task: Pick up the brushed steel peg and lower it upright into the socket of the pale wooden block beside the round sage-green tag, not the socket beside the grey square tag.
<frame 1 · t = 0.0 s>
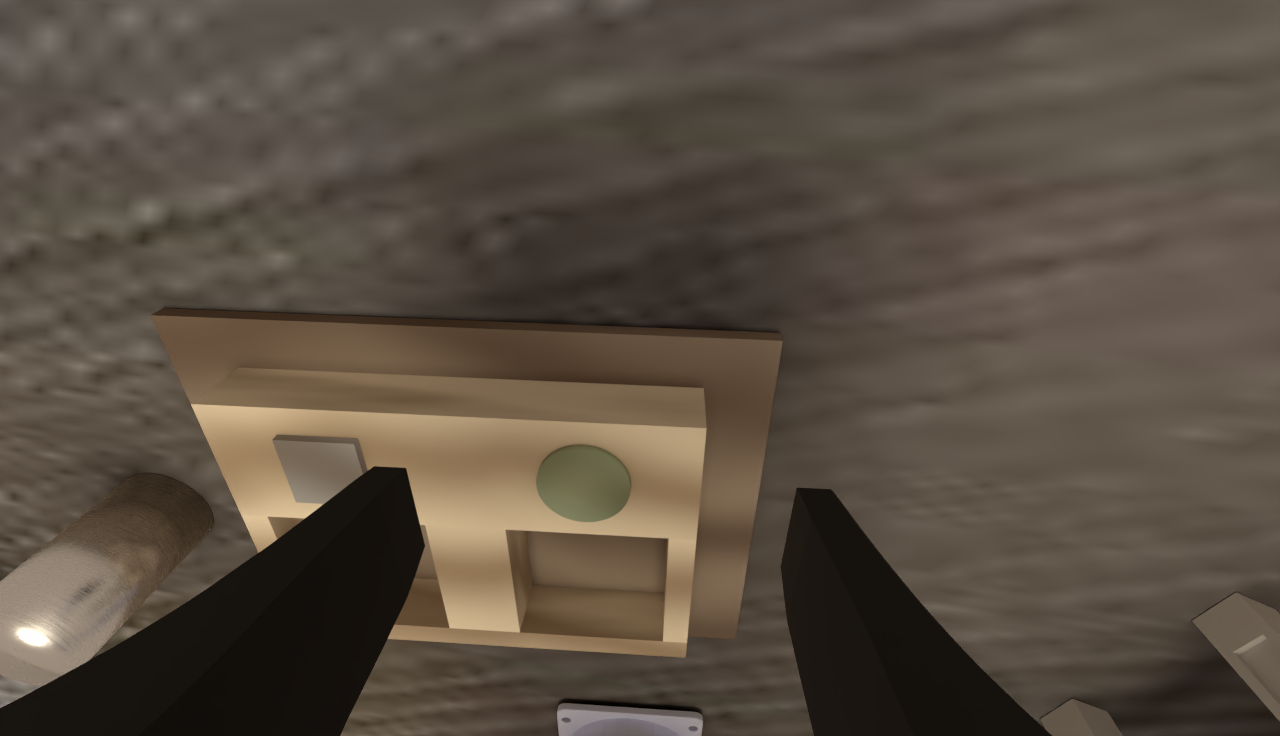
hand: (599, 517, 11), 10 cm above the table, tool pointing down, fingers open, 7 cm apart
socket block: (496, 525, 25), on the table
peg: (168, 507, 26), on the table
stool: (1213, 692, 29), on the table
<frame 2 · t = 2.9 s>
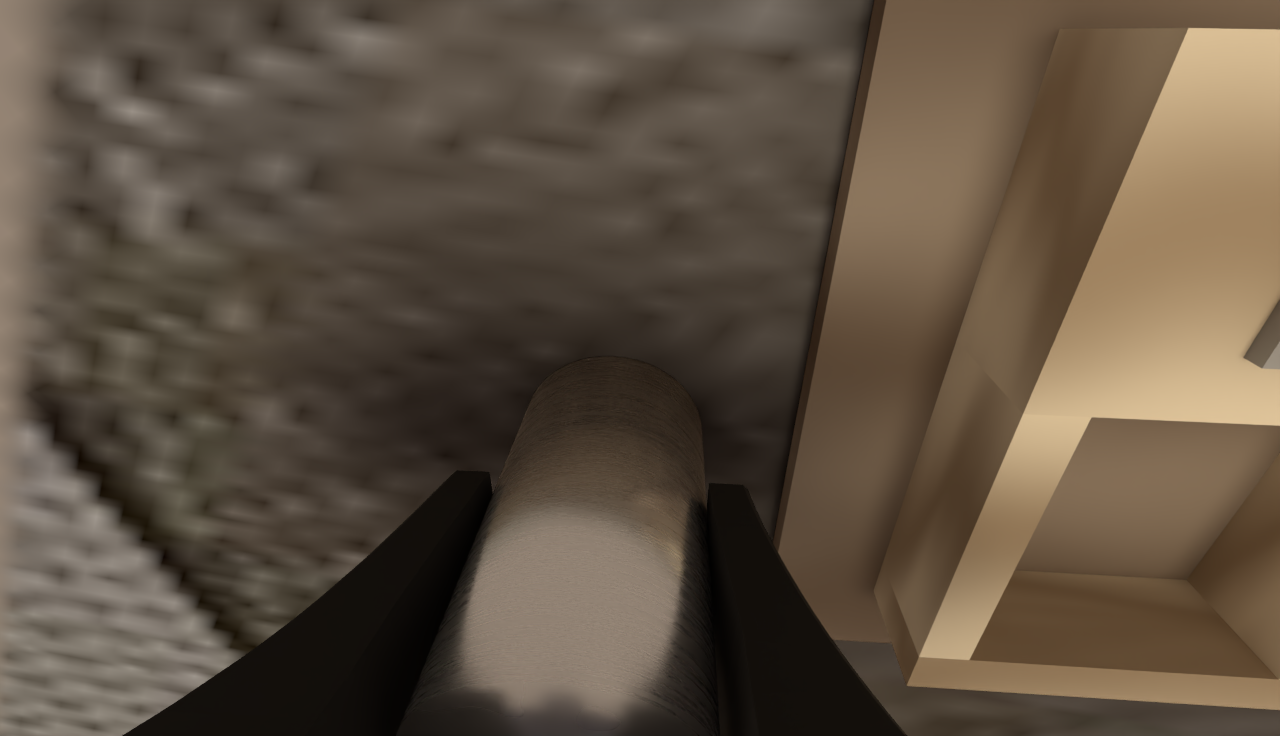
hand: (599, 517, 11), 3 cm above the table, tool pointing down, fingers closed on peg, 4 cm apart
peg: (613, 433, 13), on the table, touching gripper
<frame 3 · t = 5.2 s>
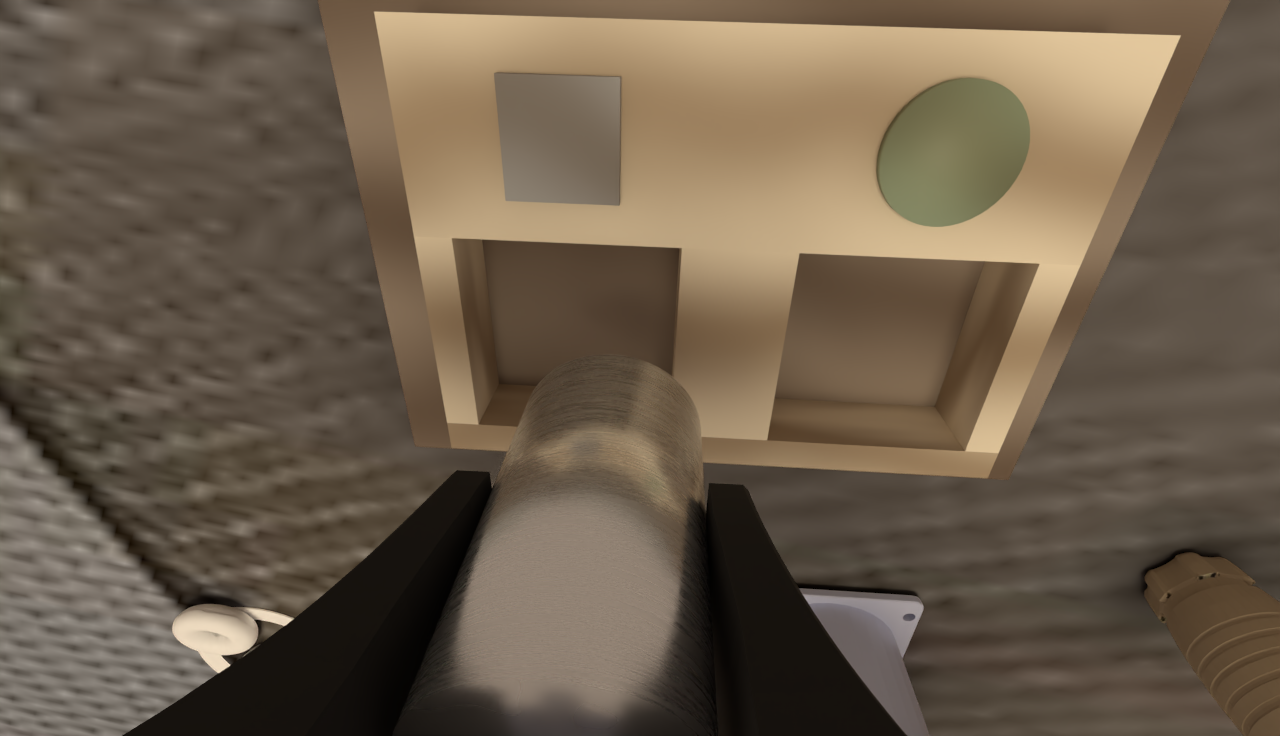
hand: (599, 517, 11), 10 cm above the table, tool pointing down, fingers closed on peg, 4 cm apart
socket block: (721, 308, 19), on the table
teacup and saucer: (300, 616, 30), on the table
peg: (612, 431, 13), point 7 cm above the table, touching gripper
handle: (1177, 570, 24), on the table
when the fingers open (4 cm above the table, at t = 7.6 s): peg stays where it is, resting on socket block.
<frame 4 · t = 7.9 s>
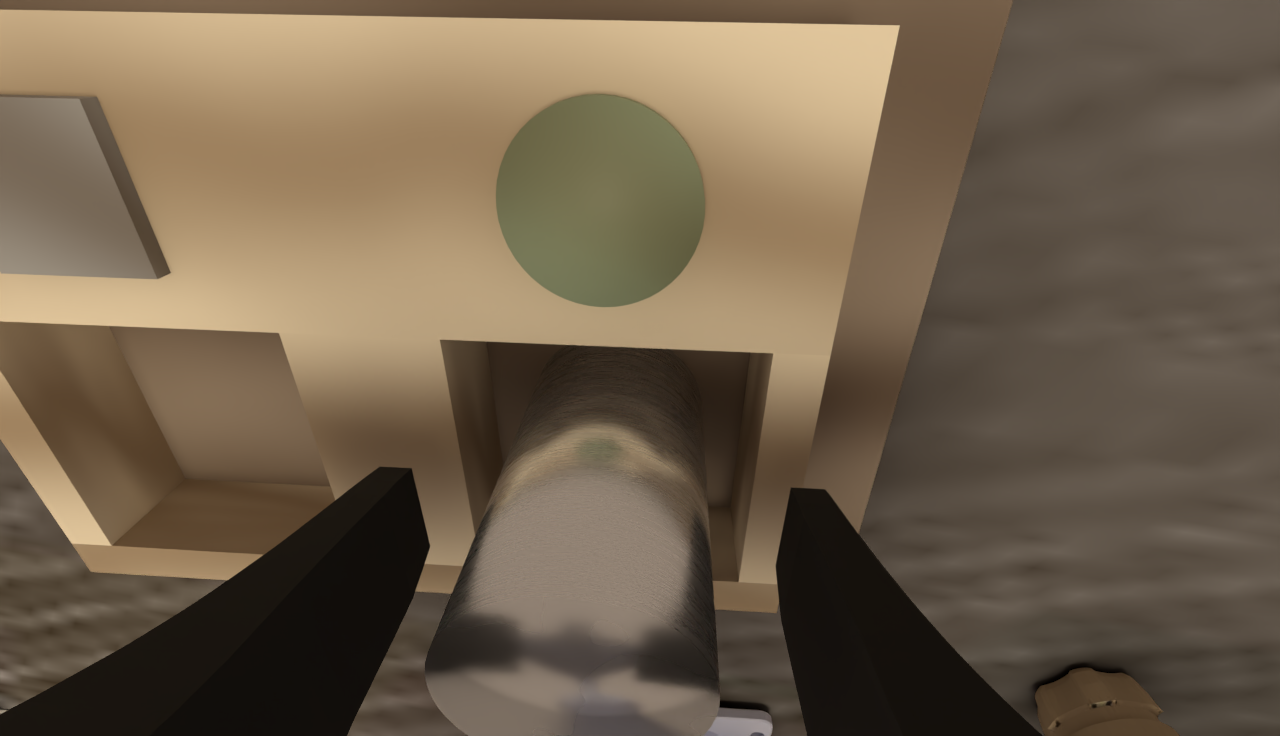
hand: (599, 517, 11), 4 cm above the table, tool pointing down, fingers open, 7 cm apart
socket block: (442, 387, 15), on the table
peg: (618, 406, 14), point 1 cm above the table, touching socket block
handle: (1076, 684, 19), on the table
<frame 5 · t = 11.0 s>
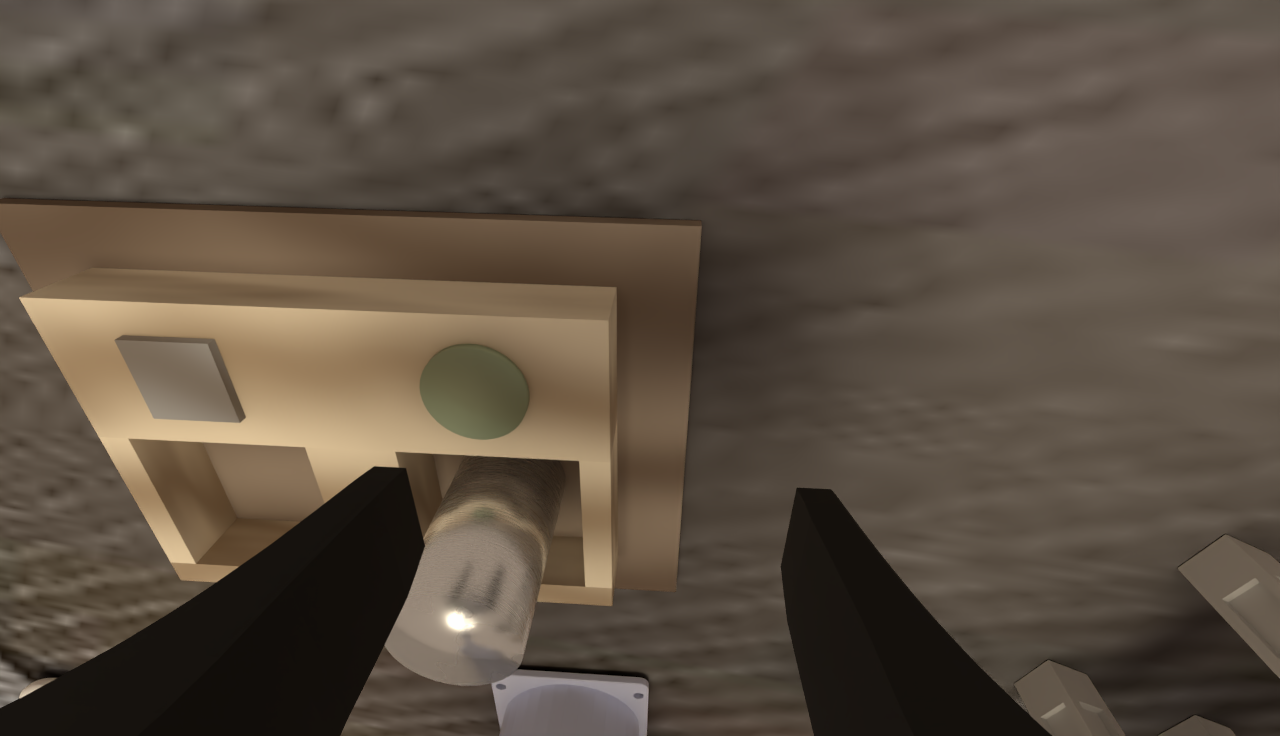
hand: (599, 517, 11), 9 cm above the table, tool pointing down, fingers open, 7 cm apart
socket block: (405, 462, 23), on the table
peg: (514, 476, 22), point 1 cm above the table, touching socket block
stool: (1202, 652, 26), on the table
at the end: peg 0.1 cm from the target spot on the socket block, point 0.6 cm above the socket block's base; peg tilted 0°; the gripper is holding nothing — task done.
